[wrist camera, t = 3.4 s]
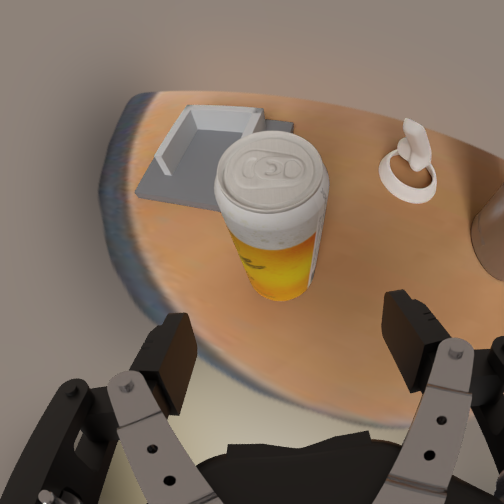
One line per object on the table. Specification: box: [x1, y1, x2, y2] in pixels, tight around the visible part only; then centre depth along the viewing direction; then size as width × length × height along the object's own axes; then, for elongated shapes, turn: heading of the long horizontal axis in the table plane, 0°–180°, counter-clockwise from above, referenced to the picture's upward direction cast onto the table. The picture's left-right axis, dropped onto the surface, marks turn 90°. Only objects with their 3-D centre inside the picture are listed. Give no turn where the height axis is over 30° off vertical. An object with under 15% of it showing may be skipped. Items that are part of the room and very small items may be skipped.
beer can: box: [214, 130, 329, 301], centre depth 21 cm, size 6×6×15 cm
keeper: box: [135, 105, 294, 212], centre depth 32 cm, size 16×14×5 cm
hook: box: [379, 118, 437, 204], centre depth 27 cm, size 8×12×7 cm
